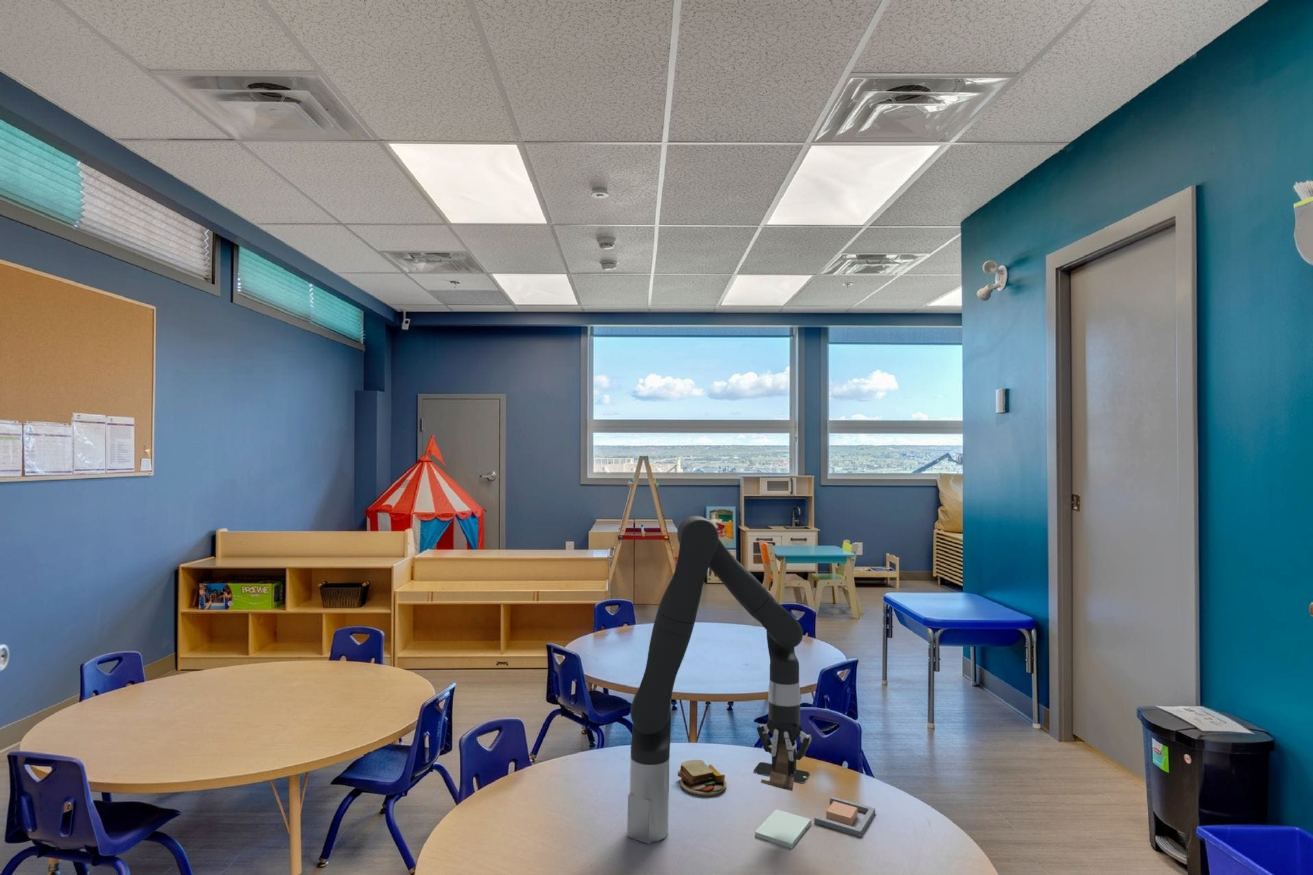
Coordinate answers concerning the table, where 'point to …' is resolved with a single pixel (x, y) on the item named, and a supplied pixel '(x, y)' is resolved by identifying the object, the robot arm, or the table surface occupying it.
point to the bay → (847, 828)
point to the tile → (841, 813)
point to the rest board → (783, 828)
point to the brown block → (781, 771)
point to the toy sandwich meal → (701, 778)
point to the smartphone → (767, 768)
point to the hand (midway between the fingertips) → (784, 772)
